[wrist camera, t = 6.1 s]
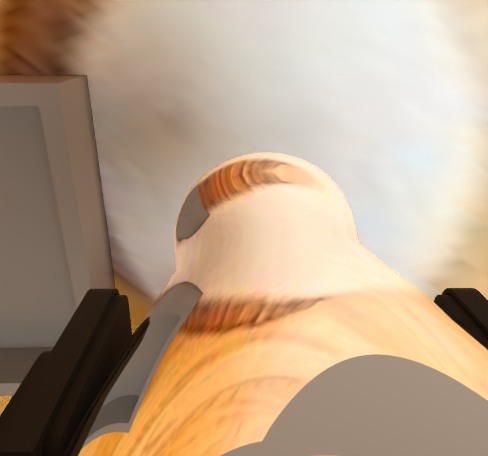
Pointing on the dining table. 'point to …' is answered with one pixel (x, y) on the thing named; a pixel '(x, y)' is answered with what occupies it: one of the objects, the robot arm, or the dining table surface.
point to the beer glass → (286, 338)
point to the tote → (46, 216)
